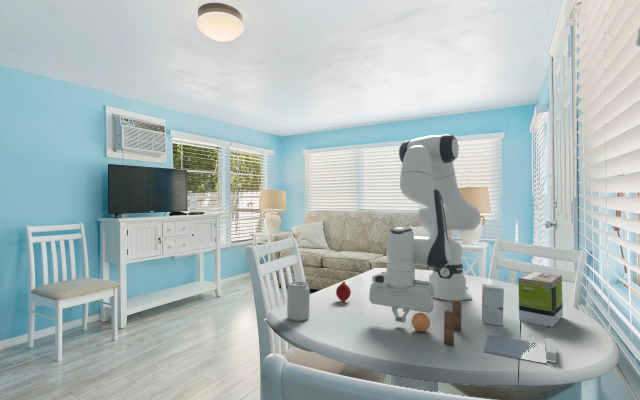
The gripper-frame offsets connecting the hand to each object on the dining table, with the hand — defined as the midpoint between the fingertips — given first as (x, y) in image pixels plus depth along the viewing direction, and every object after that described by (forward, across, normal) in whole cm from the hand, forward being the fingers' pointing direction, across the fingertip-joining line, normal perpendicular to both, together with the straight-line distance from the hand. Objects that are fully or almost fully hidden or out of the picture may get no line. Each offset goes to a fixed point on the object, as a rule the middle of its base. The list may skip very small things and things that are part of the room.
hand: (400, 321), depth 111 cm
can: (+2, +32, +11) cm, 34 cm away
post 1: (+2, -16, +6) cm, 17 cm away
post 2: (+2, -16, -6) cm, 17 cm away
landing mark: (+2, -32, 0) cm, 32 cm away
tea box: (+2, -38, -33) cm, 51 cm away
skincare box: (+2, -25, -20) cm, 32 cm away
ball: (-1, -7, +1) cm, 7 cm away
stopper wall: (+2, -40, 0) cm, 40 cm away
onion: (+2, +28, -15) cm, 32 cm away
